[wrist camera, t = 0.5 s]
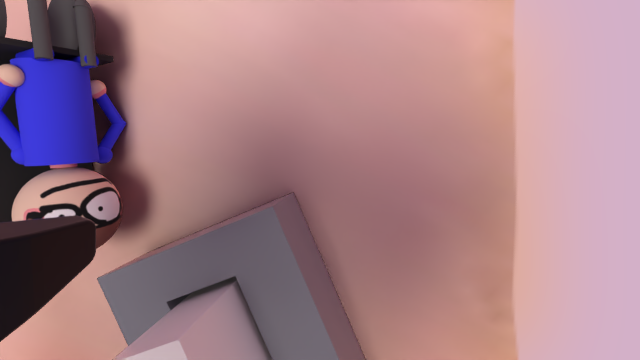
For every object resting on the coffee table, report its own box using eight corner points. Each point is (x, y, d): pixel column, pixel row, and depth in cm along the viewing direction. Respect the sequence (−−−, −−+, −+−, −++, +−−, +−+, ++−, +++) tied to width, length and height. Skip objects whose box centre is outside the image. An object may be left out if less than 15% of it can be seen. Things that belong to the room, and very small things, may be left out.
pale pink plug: (243, 366, 23) (167, 496, 15) (205, 281, 23) (105, 365, 15) (292, 351, 23) (242, 478, 14) (253, 263, 22) (178, 339, 14)
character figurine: (135, 3, 23) (154, 234, 25) (28, 9, 24) (55, 234, 25) (26, -63, 15) (66, 281, 17) (-129, -52, 16) (-74, 279, 18)
